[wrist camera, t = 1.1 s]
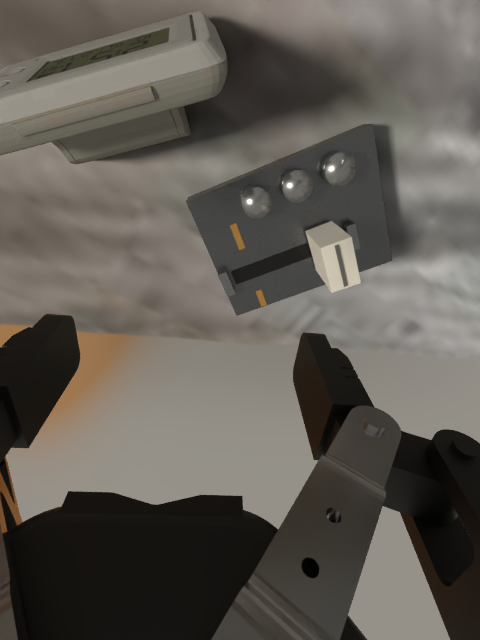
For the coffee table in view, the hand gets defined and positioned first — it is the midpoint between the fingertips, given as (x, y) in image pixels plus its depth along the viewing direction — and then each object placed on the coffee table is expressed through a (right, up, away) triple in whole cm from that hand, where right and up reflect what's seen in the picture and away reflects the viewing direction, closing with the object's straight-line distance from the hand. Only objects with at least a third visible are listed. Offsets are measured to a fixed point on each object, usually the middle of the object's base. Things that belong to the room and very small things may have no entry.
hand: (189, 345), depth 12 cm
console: (+7, +10, +19) cm, 23 cm away
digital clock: (-7, +19, +14) cm, 24 cm away
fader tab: (+9, +8, +18) cm, 22 cm away
